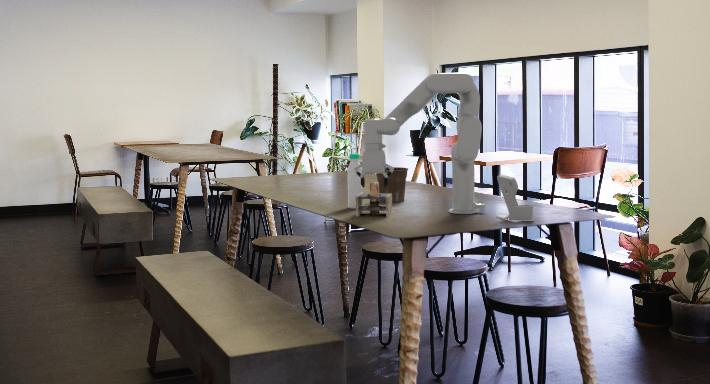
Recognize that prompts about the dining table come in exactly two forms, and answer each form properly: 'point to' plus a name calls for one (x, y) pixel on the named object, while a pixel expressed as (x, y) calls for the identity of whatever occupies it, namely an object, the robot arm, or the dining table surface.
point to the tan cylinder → (374, 192)
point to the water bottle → (353, 181)
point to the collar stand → (361, 207)
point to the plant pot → (393, 184)
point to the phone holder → (513, 200)
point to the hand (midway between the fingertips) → (374, 186)
